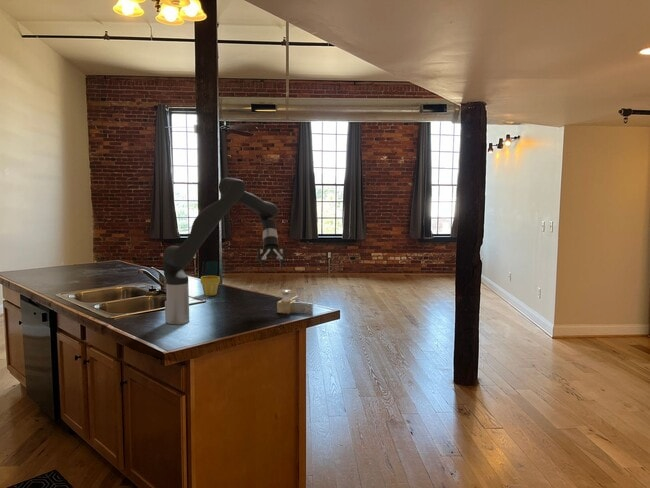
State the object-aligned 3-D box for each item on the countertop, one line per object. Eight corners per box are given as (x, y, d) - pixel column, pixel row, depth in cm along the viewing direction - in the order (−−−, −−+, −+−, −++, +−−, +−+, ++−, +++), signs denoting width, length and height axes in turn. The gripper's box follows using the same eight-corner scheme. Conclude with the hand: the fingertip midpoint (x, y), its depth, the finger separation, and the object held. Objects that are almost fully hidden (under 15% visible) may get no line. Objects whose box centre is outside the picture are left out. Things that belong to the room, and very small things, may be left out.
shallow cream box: (277, 312, 229) (277, 302, 228) (291, 305, 244) (291, 295, 244) (309, 315, 223) (309, 305, 223) (322, 307, 239) (322, 297, 238)
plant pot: (218, 291, 276) (217, 274, 275) (221, 295, 267) (221, 277, 266) (199, 293, 272) (199, 276, 271) (202, 296, 263) (202, 279, 262)
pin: (279, 312, 230) (279, 291, 229) (284, 309, 234) (283, 289, 233) (288, 312, 228) (288, 292, 227) (293, 310, 233) (292, 290, 232)
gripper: (256, 235, 241) (258, 264, 233) (285, 235, 244) (288, 263, 236) (255, 243, 247) (257, 271, 239) (283, 242, 250) (286, 270, 242)
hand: (272, 267), depth 238 cm, fingers open, 8 cm apart
